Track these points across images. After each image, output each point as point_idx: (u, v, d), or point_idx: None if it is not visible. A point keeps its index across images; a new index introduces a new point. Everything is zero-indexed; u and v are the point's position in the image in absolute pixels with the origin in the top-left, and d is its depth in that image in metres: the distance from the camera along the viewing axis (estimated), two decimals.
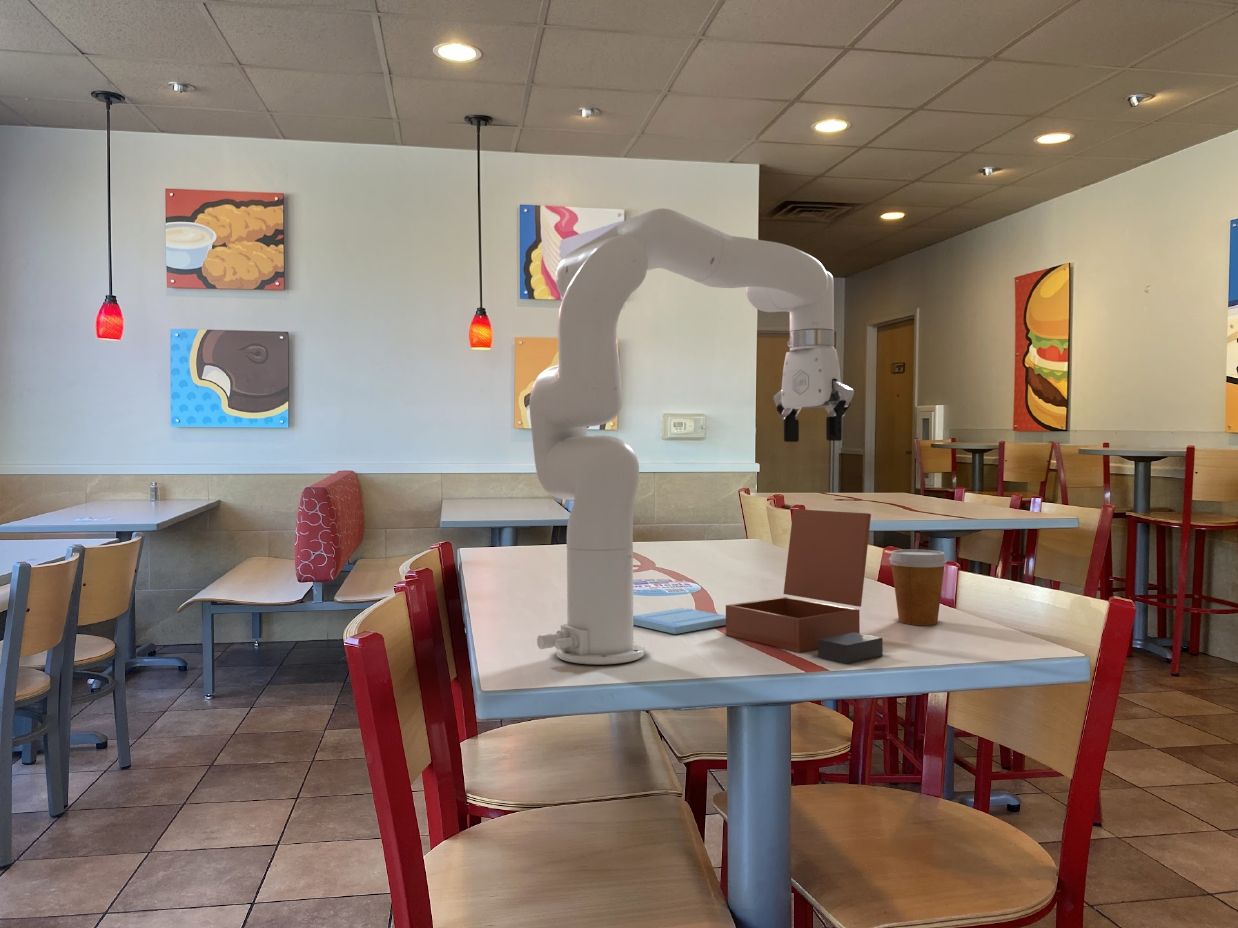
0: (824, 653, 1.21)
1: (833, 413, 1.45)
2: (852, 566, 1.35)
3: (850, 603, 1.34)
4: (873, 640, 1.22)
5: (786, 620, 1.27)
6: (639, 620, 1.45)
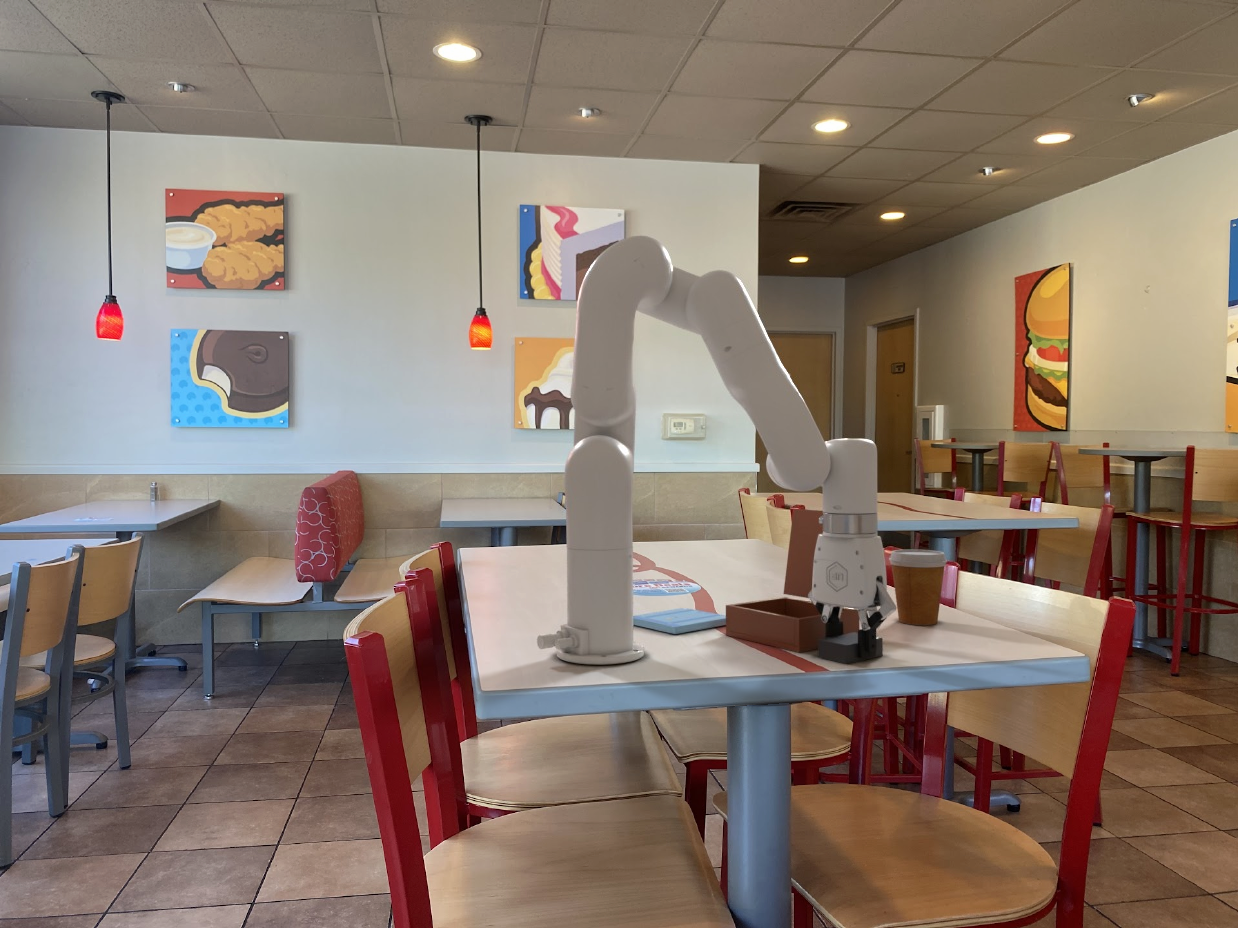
0: (824, 653, 1.21)
1: (866, 627, 1.19)
2: None
3: None
4: None
5: (786, 620, 1.27)
6: (639, 620, 1.45)
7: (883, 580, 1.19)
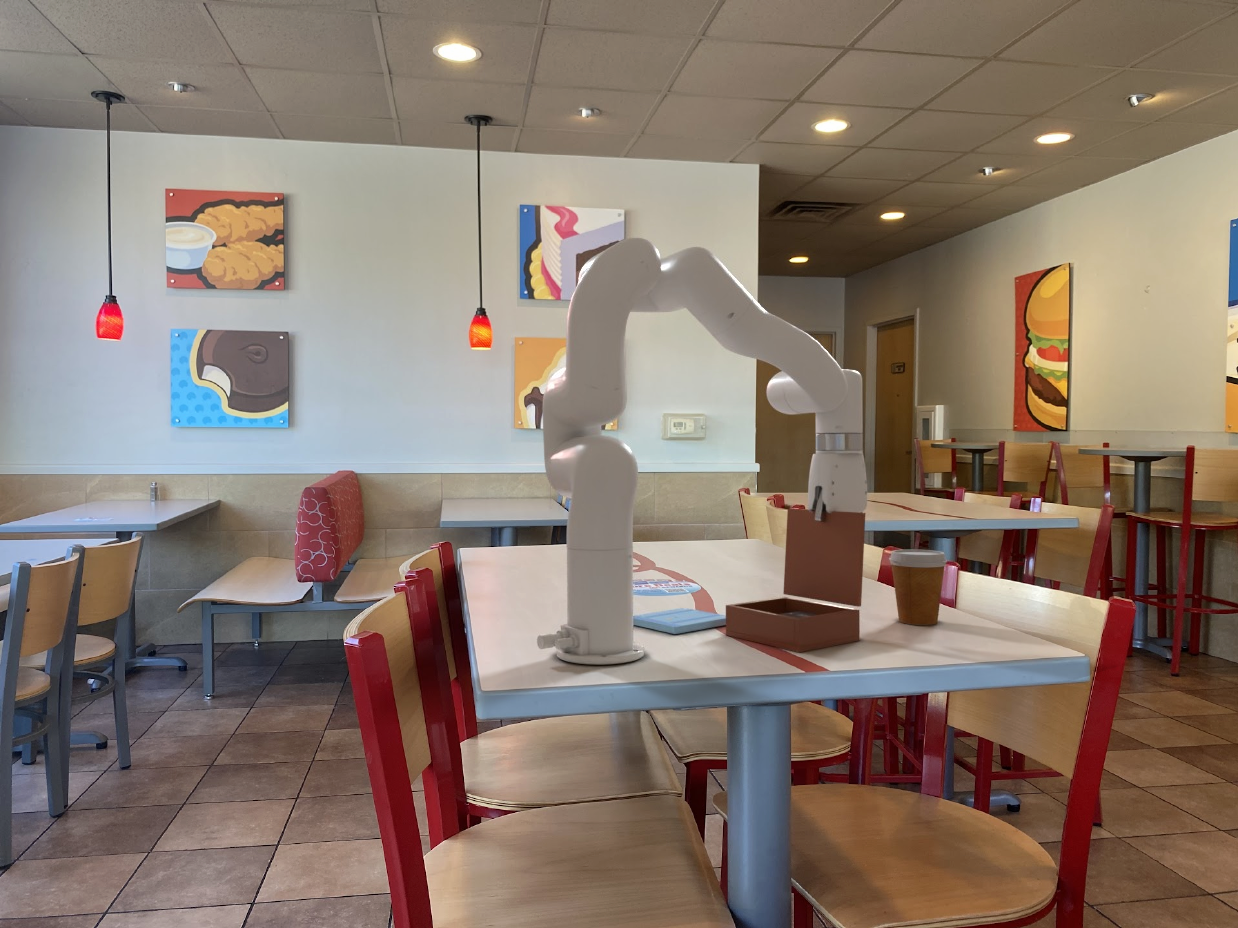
0: None
1: None
2: (850, 566, 1.35)
3: (850, 603, 1.34)
4: None
5: (786, 620, 1.27)
6: (639, 620, 1.45)
7: (823, 490, 1.39)
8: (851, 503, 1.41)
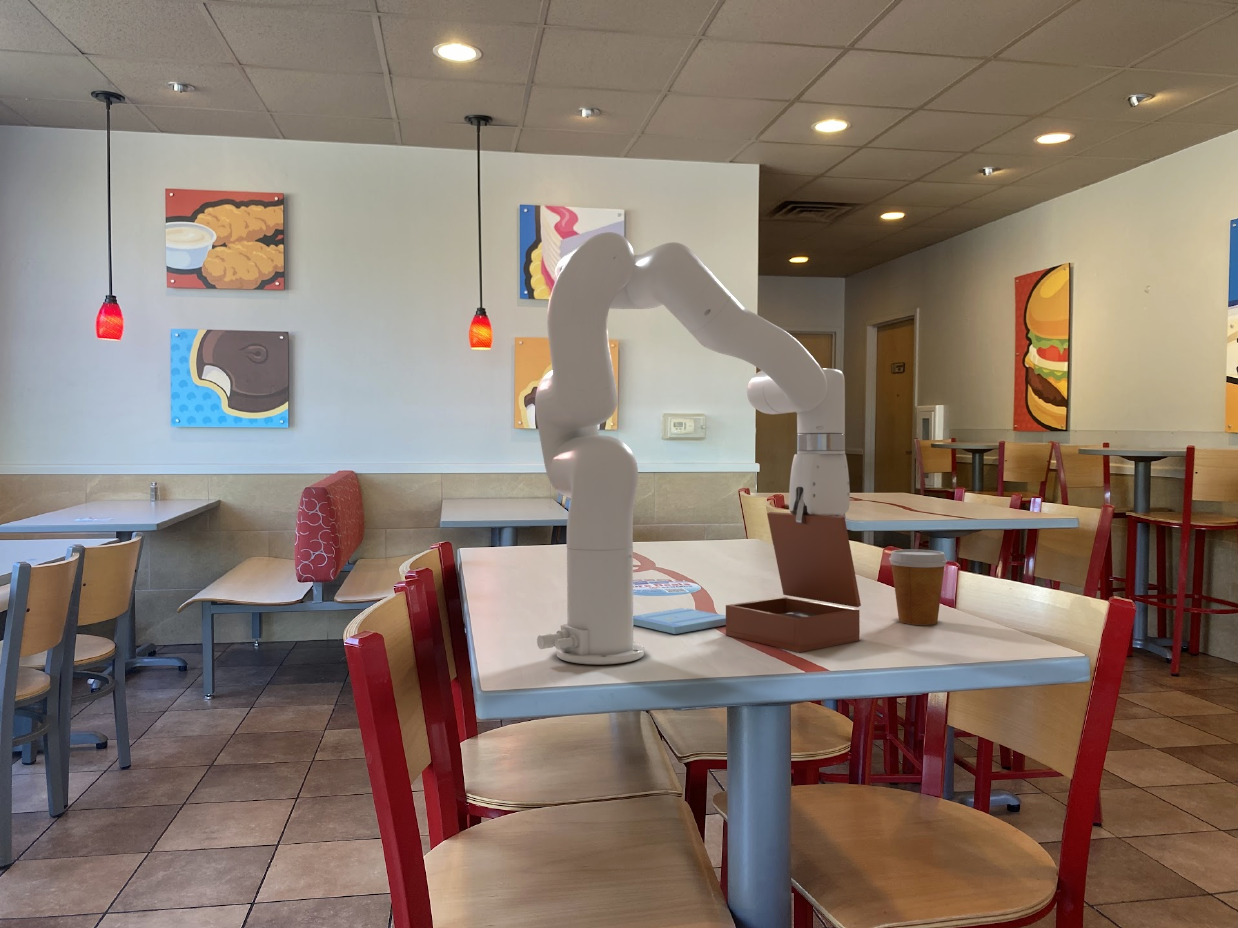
0: None
1: None
2: (841, 569, 1.34)
3: (850, 604, 1.34)
4: None
5: (786, 620, 1.27)
6: (639, 620, 1.45)
7: (804, 491, 1.36)
8: (833, 505, 1.38)
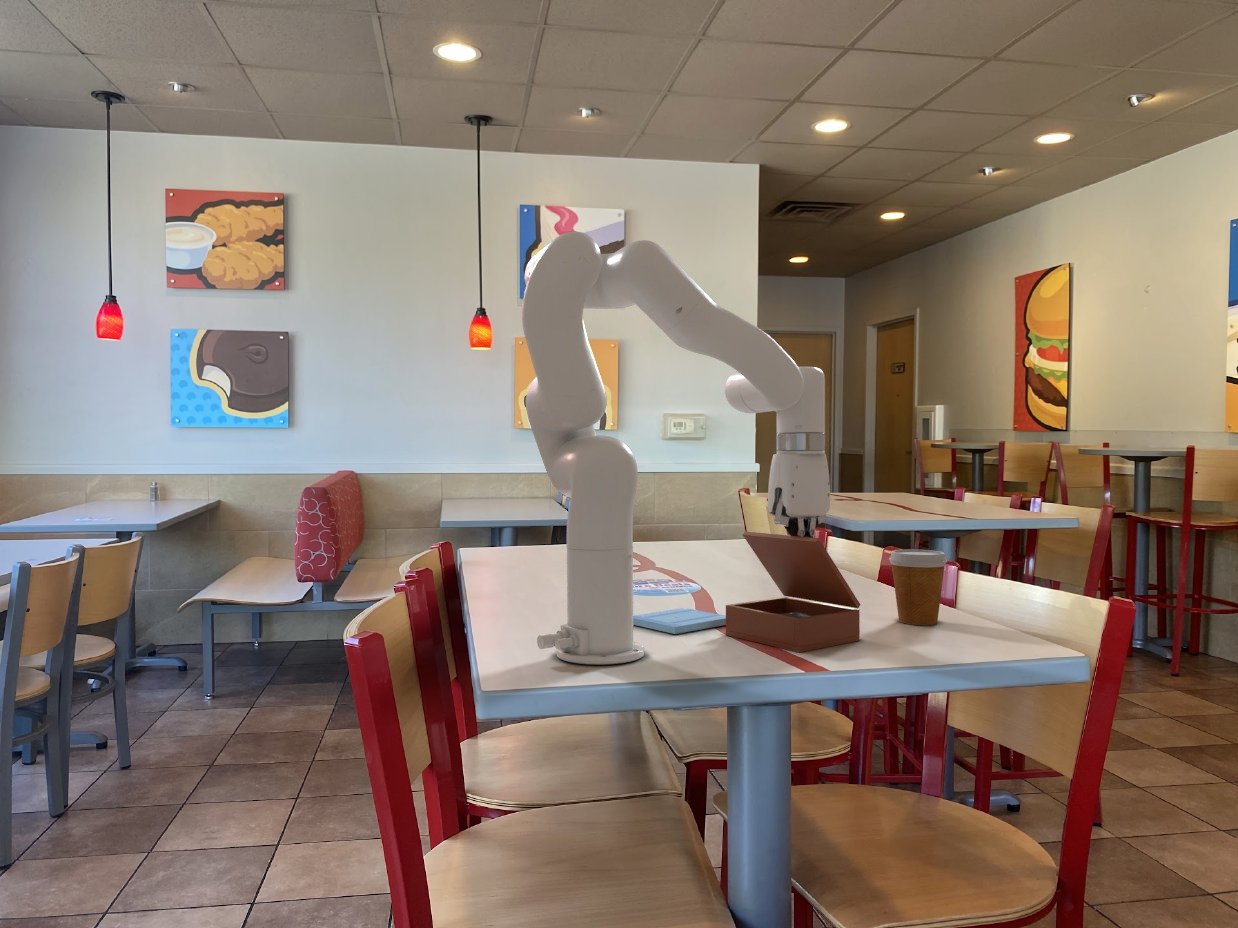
0: None
1: None
2: (831, 580, 1.32)
3: (850, 606, 1.34)
4: None
5: (786, 620, 1.27)
6: (639, 620, 1.45)
7: (783, 492, 1.33)
8: (812, 505, 1.35)
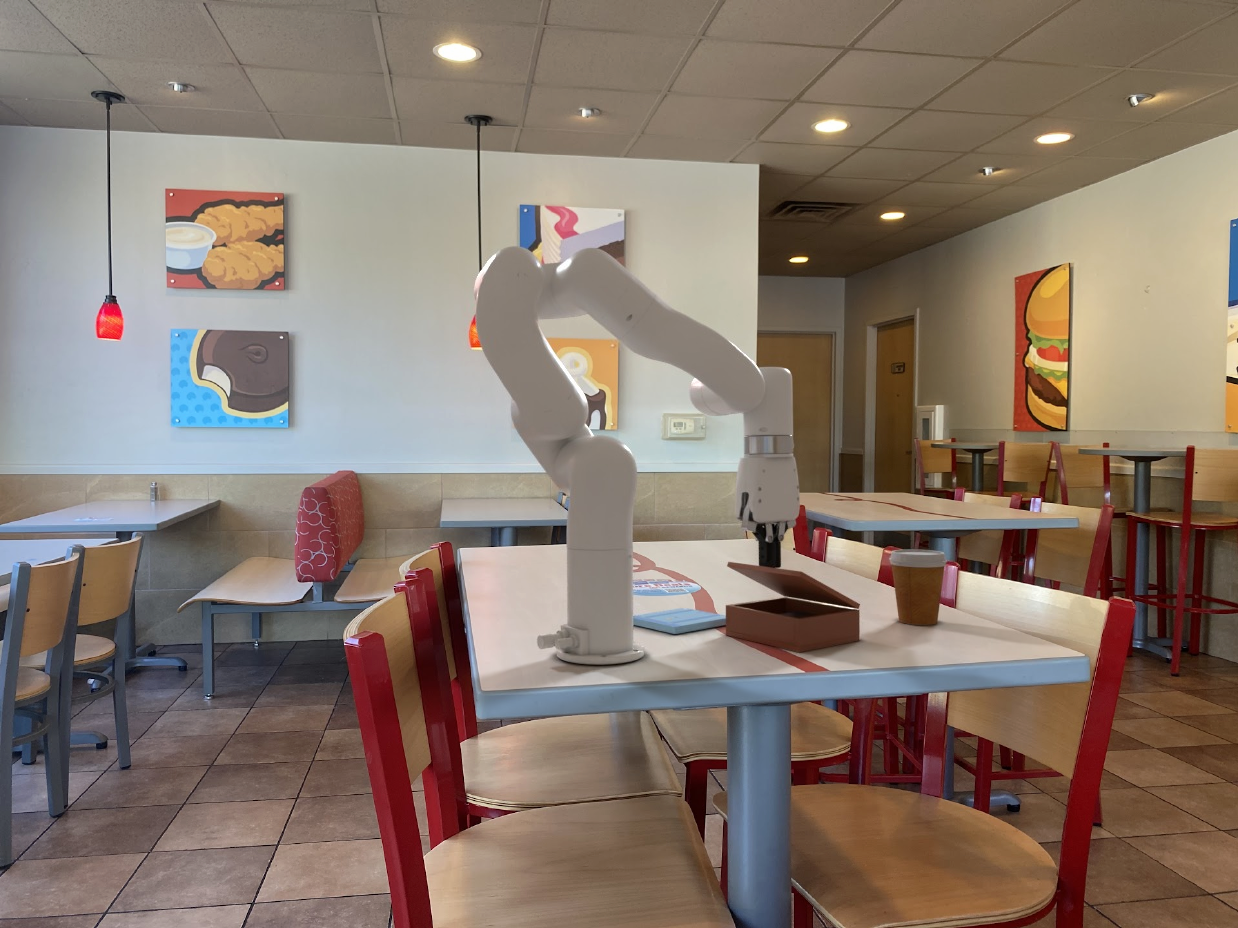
0: None
1: None
2: (825, 594, 1.31)
3: (850, 607, 1.34)
4: None
5: (786, 620, 1.27)
6: (639, 620, 1.45)
7: (750, 497, 1.29)
8: (781, 510, 1.31)
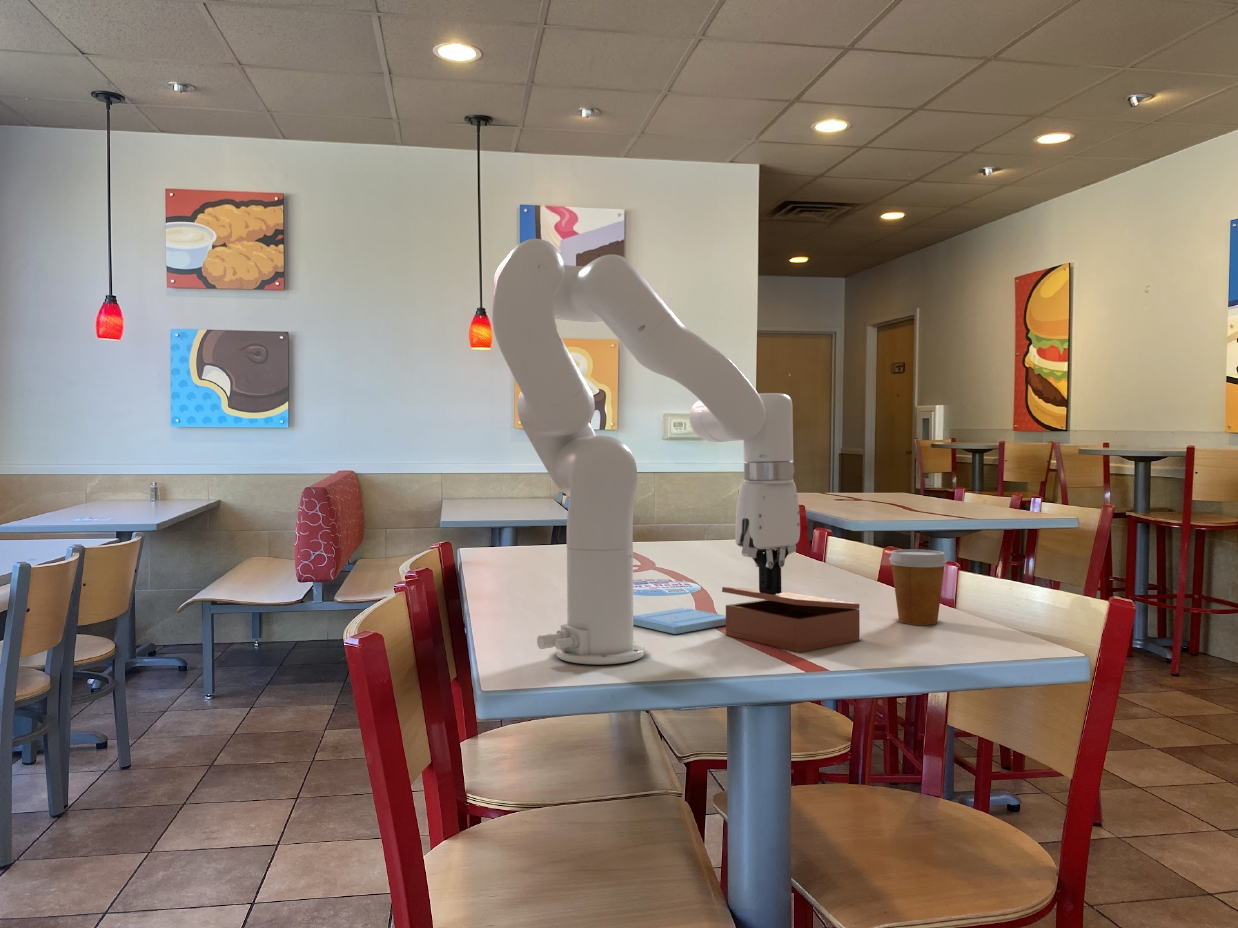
0: None
1: None
2: None
3: None
4: None
5: (786, 620, 1.27)
6: (639, 620, 1.45)
7: (750, 523, 1.29)
8: (781, 536, 1.31)
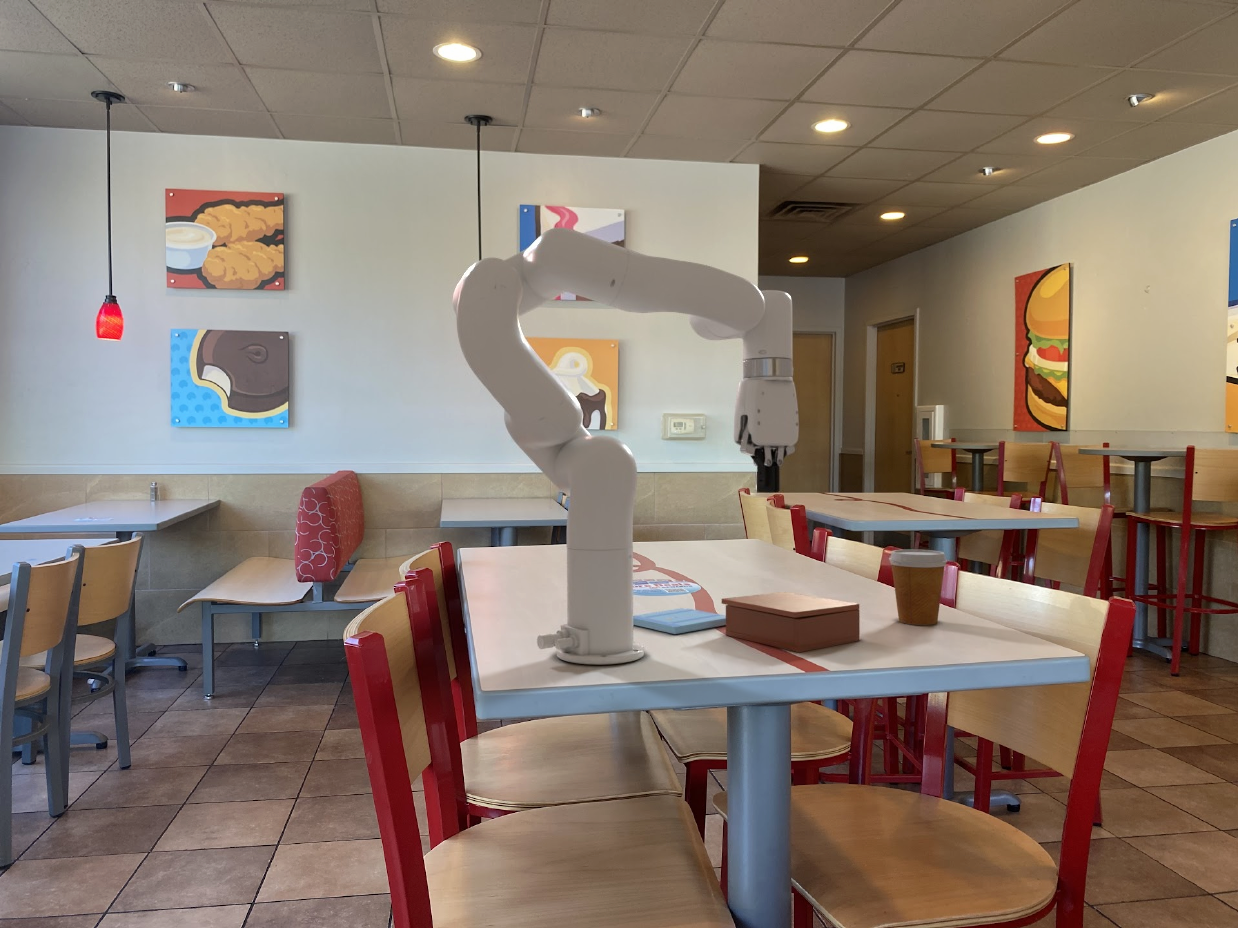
0: None
1: None
2: None
3: None
4: None
5: (786, 620, 1.27)
6: (639, 620, 1.45)
7: (749, 419, 1.29)
8: (780, 434, 1.31)
